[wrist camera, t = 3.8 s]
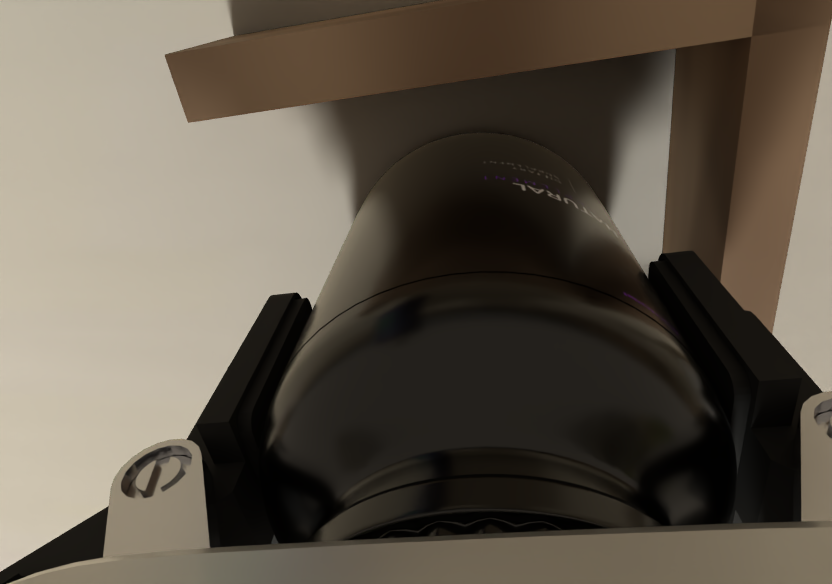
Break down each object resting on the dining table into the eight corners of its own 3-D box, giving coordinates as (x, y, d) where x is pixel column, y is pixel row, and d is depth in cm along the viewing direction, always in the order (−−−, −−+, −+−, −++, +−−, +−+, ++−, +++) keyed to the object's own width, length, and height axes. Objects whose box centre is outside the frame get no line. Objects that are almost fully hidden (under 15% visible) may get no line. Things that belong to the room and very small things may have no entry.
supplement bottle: (620, 120, 13) (1204, 635, 3) (587, 351, 17) (804, 974, 6) (338, 126, 14) (-23, 587, 3) (361, 350, 17) (217, 924, 7)
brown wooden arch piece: (743, -52, 11) (846, -62, 8) (691, 406, 17) (741, 496, 14) (233, 36, 13) (164, 54, 10) (346, 430, 19) (325, 517, 16)
